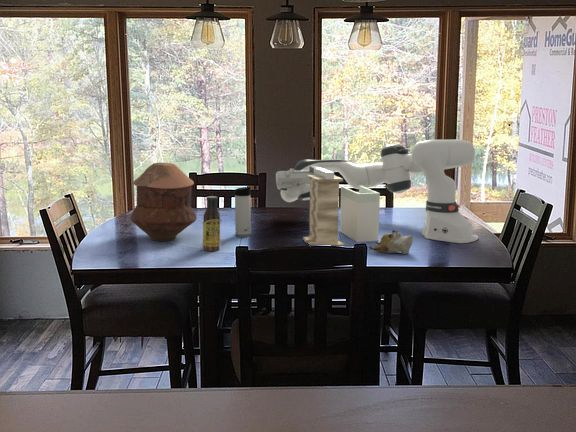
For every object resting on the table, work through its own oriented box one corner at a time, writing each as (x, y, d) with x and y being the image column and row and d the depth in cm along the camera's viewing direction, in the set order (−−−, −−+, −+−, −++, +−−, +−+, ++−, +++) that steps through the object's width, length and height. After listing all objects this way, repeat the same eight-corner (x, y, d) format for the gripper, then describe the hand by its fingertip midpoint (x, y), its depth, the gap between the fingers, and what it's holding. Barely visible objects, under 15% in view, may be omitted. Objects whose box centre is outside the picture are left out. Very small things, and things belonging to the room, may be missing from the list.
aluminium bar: (309, 172, 259) (309, 166, 259) (316, 171, 260) (316, 165, 259) (326, 179, 238) (326, 172, 238) (334, 179, 239) (334, 172, 238)
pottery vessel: (126, 234, 265) (123, 160, 260) (188, 229, 275) (186, 158, 269) (137, 248, 242) (133, 168, 236) (203, 242, 251) (202, 165, 245)
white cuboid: (340, 231, 272) (341, 186, 268) (360, 230, 274) (361, 185, 271) (356, 242, 253) (358, 193, 249) (378, 240, 255) (379, 193, 252)
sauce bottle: (205, 252, 236) (204, 198, 232) (200, 248, 242) (199, 196, 238) (222, 250, 239) (222, 197, 235) (217, 247, 244) (216, 194, 240)
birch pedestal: (302, 239, 256) (303, 174, 251) (331, 238, 259) (332, 173, 254) (314, 249, 241) (315, 180, 236) (345, 247, 244) (346, 179, 239)
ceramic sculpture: (409, 233, 228) (368, 232, 234) (410, 257, 229) (369, 256, 235) (415, 228, 238) (375, 227, 243) (416, 251, 239) (376, 249, 245)
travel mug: (249, 237, 260) (249, 188, 256) (233, 236, 261) (232, 187, 257) (253, 234, 266) (253, 185, 262) (237, 233, 267) (237, 185, 263)
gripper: (319, 188, 286) (328, 176, 273) (274, 189, 281) (280, 177, 268) (317, 175, 288) (325, 162, 275) (272, 176, 283) (279, 163, 270)
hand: (303, 169), depth 272 cm, fingers open, 8 cm apart
